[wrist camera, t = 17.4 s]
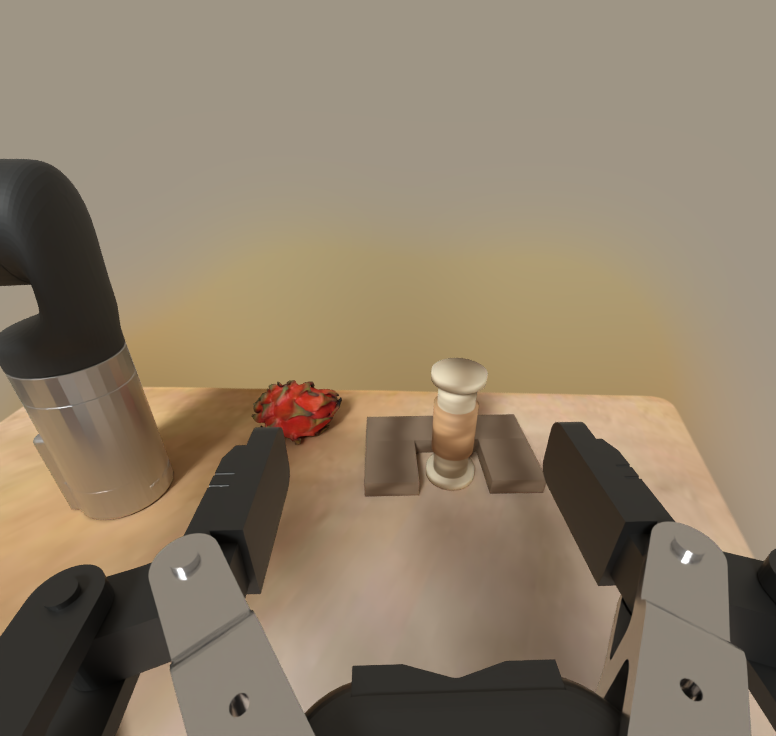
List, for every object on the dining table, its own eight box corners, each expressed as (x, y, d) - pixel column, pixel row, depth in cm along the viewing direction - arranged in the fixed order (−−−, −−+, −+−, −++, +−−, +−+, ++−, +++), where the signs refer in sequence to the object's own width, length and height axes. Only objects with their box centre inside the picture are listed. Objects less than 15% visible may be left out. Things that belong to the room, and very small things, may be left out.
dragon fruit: (251, 449, 53) (337, 437, 58) (256, 451, 45) (355, 437, 50) (246, 386, 54) (331, 380, 59) (251, 378, 46) (348, 371, 51)
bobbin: (428, 491, 44) (435, 385, 38) (423, 457, 49) (428, 358, 42) (478, 490, 45) (493, 385, 38) (468, 456, 49) (480, 357, 42)
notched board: (364, 496, 44) (364, 483, 43) (367, 428, 54) (367, 417, 53) (543, 492, 44) (546, 479, 43) (511, 426, 55) (513, 414, 54)
